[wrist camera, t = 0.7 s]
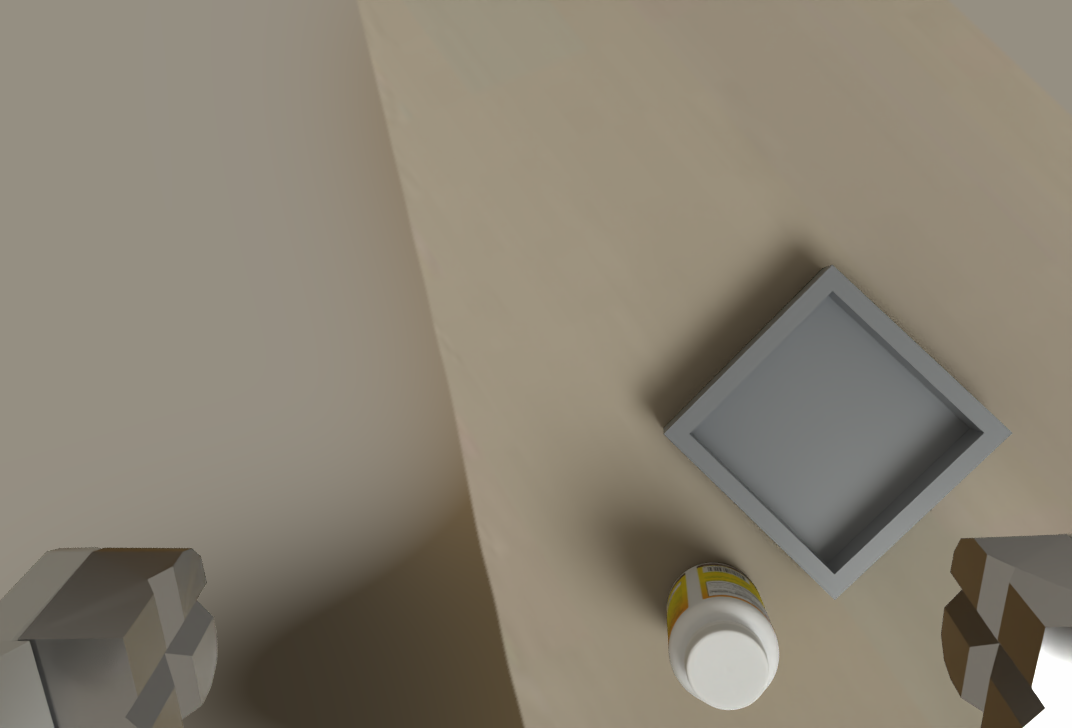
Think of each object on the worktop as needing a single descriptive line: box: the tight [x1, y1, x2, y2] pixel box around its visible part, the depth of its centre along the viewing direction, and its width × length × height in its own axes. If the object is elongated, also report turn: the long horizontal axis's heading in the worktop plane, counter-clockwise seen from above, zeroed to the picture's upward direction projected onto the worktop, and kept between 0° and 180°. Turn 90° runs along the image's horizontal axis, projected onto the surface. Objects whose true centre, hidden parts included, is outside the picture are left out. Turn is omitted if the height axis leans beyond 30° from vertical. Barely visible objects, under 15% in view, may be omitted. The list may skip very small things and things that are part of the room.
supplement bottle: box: [667, 563, 779, 710], centre depth 48 cm, size 6×6×10 cm
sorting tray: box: [663, 265, 1012, 600], centre depth 51 cm, size 13×13×3 cm
